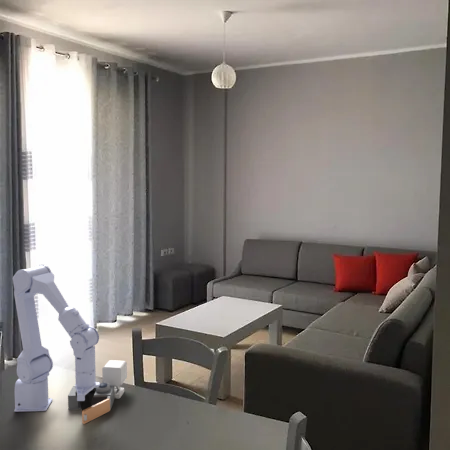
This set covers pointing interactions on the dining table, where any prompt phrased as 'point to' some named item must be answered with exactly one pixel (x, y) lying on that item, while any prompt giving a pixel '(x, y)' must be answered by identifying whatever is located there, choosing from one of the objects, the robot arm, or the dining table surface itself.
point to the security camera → (115, 375)
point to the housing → (99, 396)
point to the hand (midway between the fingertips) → (86, 413)
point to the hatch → (96, 410)
